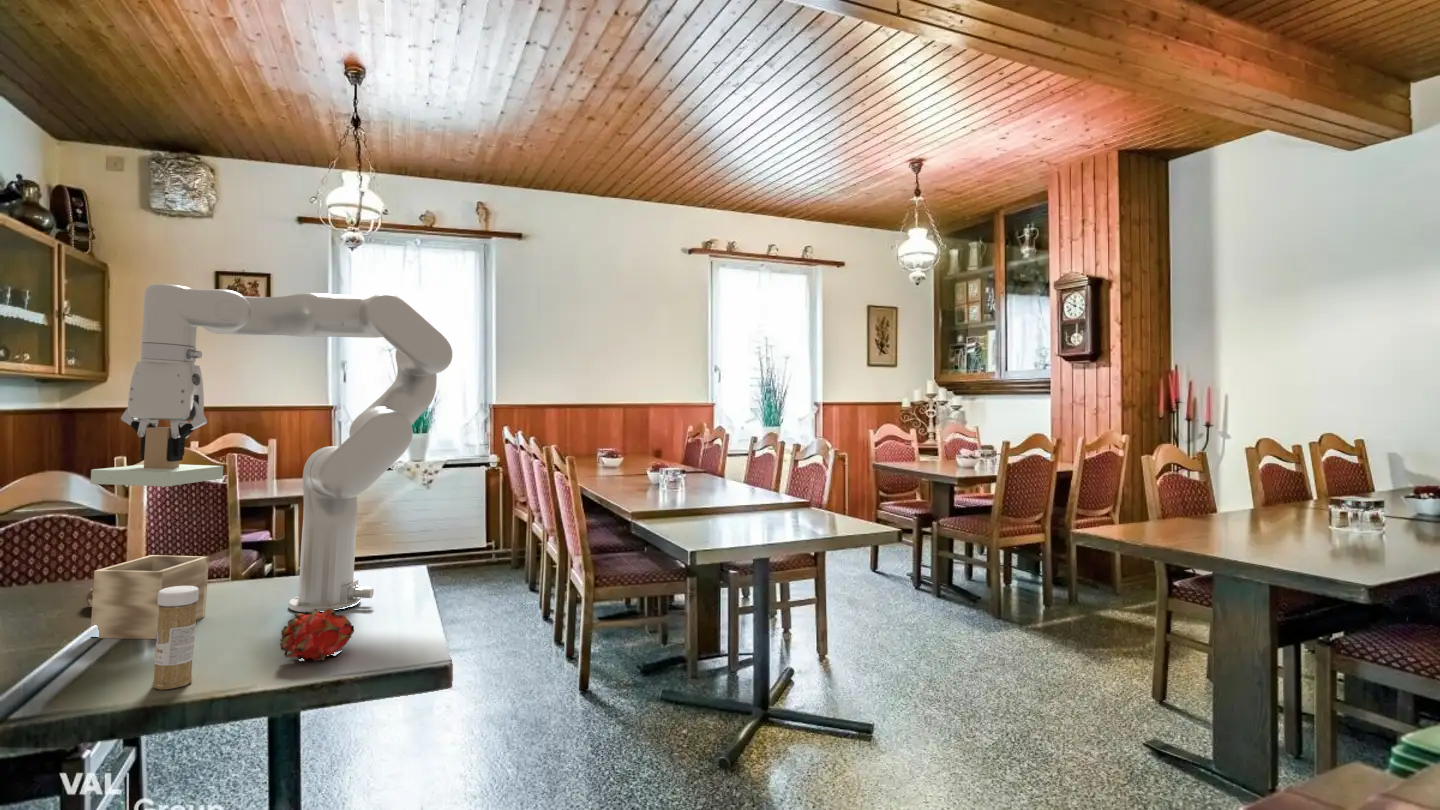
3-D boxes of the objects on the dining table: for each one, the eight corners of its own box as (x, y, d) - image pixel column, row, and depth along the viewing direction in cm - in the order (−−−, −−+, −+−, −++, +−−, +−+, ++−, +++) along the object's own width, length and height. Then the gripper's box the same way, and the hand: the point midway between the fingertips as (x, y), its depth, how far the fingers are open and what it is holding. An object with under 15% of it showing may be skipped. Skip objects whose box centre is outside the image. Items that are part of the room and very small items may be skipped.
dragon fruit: (268, 679, 107) (344, 668, 117) (300, 654, 104) (375, 646, 114) (261, 625, 111) (335, 620, 121) (292, 600, 108) (365, 597, 118)
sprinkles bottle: (148, 684, 99) (154, 587, 99) (188, 676, 103) (194, 583, 103) (156, 693, 96) (163, 594, 96) (197, 685, 100) (203, 589, 100)
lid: (222, 478, 132) (225, 428, 132) (167, 486, 117) (170, 430, 117) (154, 475, 131) (157, 425, 131) (90, 483, 116) (93, 426, 116)
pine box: (205, 616, 130) (208, 556, 131) (155, 639, 117) (159, 572, 118) (147, 615, 130) (151, 555, 130) (90, 637, 116) (94, 570, 117)
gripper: (231, 360, 129) (225, 461, 128) (133, 355, 127) (127, 457, 127) (204, 356, 121) (198, 463, 121) (101, 351, 120) (94, 459, 119)
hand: (162, 459), depth 124 cm, fingers closed on lid, 3 cm apart
